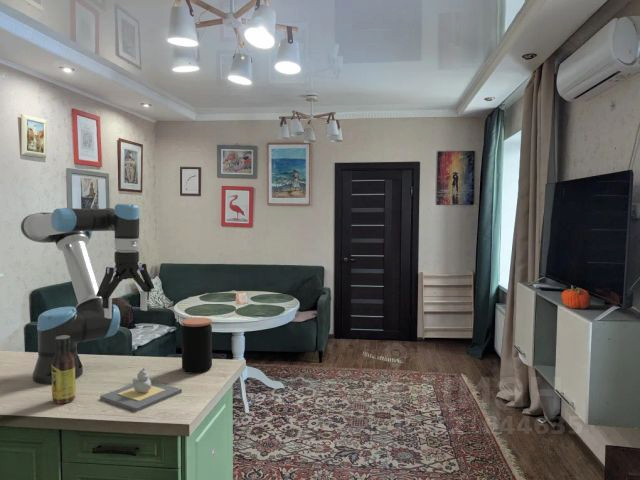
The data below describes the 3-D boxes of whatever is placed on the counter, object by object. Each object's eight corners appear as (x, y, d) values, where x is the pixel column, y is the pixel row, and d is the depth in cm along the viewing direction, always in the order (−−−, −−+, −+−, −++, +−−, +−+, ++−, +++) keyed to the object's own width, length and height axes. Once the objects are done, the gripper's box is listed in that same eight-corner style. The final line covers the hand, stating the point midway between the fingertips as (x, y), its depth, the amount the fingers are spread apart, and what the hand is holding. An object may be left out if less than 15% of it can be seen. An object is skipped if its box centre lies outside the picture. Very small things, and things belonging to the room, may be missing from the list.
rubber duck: (143, 396, 142) (143, 370, 141) (127, 392, 144) (126, 367, 144) (156, 390, 147) (155, 365, 146) (140, 386, 149) (139, 362, 149)
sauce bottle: (53, 398, 143) (51, 334, 141) (76, 395, 145) (75, 332, 144) (51, 406, 137) (49, 340, 135) (75, 403, 139) (73, 338, 138)
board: (100, 399, 142) (100, 395, 142) (146, 381, 157) (146, 378, 157) (136, 411, 134) (136, 407, 134) (181, 392, 148) (181, 388, 148)
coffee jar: (192, 363, 177) (191, 316, 176) (217, 365, 174) (217, 318, 173) (176, 372, 167) (175, 322, 166) (202, 375, 164) (202, 325, 163)
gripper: (98, 255, 141) (98, 323, 143) (164, 249, 162) (164, 308, 164) (84, 252, 145) (84, 319, 147) (150, 247, 166) (150, 305, 168)
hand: (126, 314), depth 155 cm, fingers open, 13 cm apart
